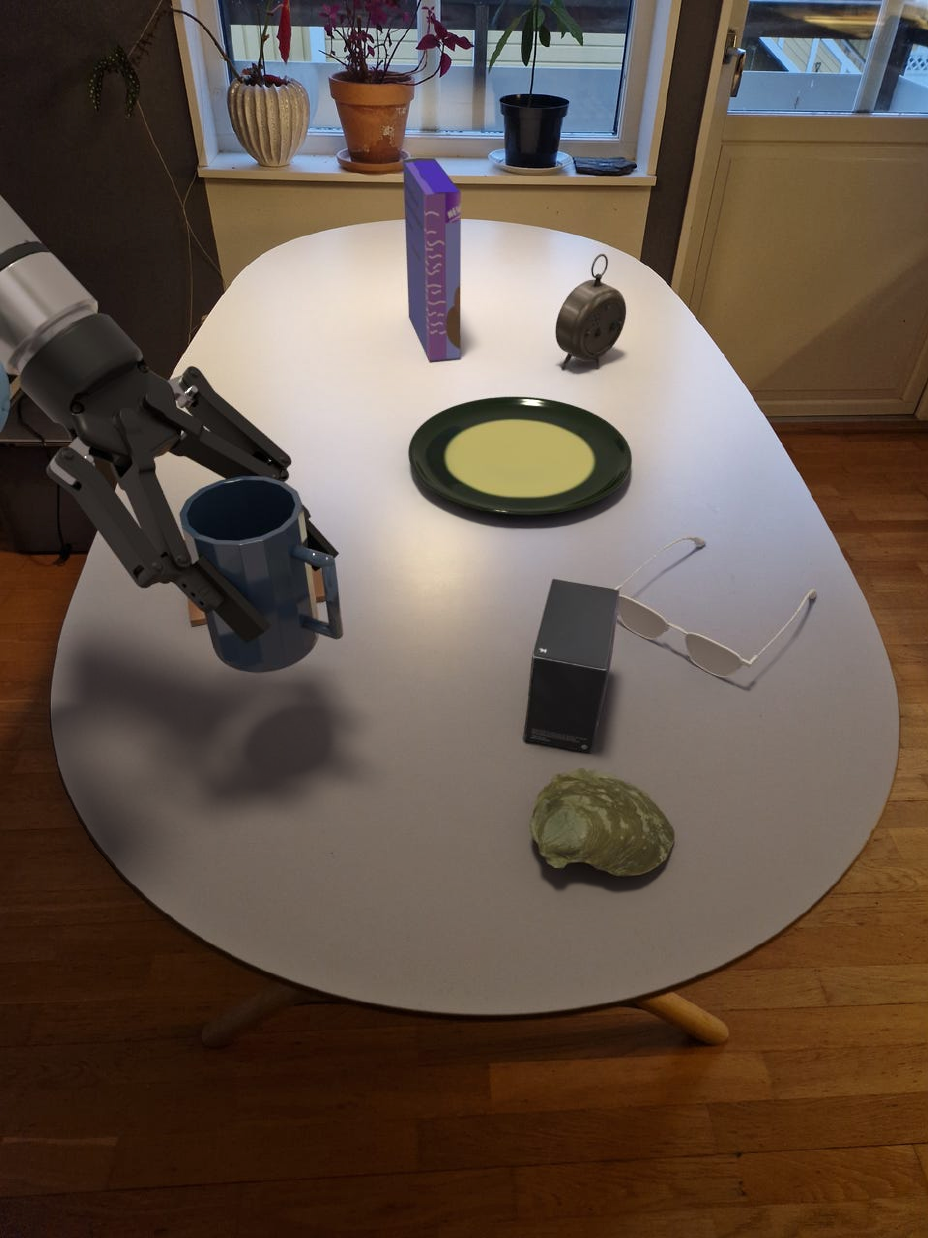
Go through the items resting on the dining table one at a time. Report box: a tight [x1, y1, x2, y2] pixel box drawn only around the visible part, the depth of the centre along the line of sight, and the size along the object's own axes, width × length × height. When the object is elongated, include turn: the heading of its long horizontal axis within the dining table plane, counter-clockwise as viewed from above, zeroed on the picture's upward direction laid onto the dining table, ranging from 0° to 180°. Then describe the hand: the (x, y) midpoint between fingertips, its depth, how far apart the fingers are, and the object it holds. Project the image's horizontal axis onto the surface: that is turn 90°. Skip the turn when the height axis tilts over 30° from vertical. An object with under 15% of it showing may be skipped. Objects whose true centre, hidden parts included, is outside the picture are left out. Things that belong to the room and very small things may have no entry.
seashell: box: [529, 767, 676, 877], centre depth 67 cm, size 10×7×10 cm
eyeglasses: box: [614, 535, 818, 678], centre depth 88 cm, size 15×18×4 cm
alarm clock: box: [555, 253, 627, 370], centre depth 126 cm, size 11×5×16 cm, turn 129°
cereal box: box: [402, 157, 462, 363], centre depth 130 cm, size 17×5×24 cm, turn 13°
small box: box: [522, 578, 620, 753], centre depth 75 cm, size 11×6×10 cm, turn 167°
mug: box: [178, 476, 345, 674], centre depth 63 cm, size 11×8×12 cm
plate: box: [407, 396, 633, 516], centre depth 109 cm, size 28×28×2 cm
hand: (294, 596), depth 63 cm, fingers closed on mug, 8 cm apart
